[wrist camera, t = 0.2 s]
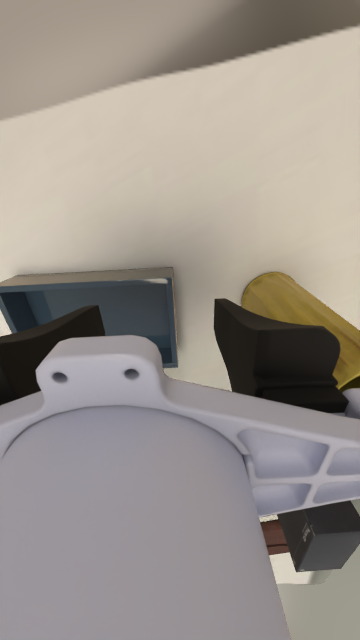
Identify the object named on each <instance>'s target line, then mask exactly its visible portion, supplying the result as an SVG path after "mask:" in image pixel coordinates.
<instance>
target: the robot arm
mask: <svg viewBox="0 0 360 640" xmlns="http://www.w3.org/2000/svg"><path fill="white" fill-rule="evenodd" d="M214 331H215V336H216V341H217V343H218V346H219V349H220V352H221V354H222V357H223V360H224V362H225V365H226V368H227V371H228V375H229V379H230V384H231V388H232V392H230V391H226V390H221V389H217V388H212V387H208V386H203V385H199V384H194V383H190V382H185V381H181V380H176V379H172V378H169V377H168V376H166V375H165V373H164V371H163V367H162V358H161V354H160V352H159V350H158V347H157V345H156V344H154V343H153V342H151V341H150V340H149V339H147V338H146V337H140V336H134V335H121V336H105V329H104V325H103V321H102V317H101V313H100V309H99V305H88V306H85V307H82V308H79V309H77V310H75V311H73V312H71V313H68V314H66V315H64V316H62V317H59V318H57V319H55V320H52V321H50V322H48V323H45V324H43V325H40V326H37V327H34V328H31V329H28V330H24V331H21V332H17V333H13V334H10V335H5V336H1V337H0V640H291V638H290V633H289V630H288V626H287V622H286V618H285V614H284V611H283V607H282V603H281V600H280V596H279V592H278V588H277V584H276V580H275V577H274V573H273V569H272V565H271V562H270V558H269V554H268V550H267V547H266V543H265V539H264V535H263V531H262V528H261V524H260V520H259V518H260V517H265V516H270V515H275V514H280V513H285V512H290V511H296V510H301V509H306V508H311V507H316V506H321V505H326V504H331V503H337V502H343V501H348V500H354V499H360V388H353V389H347V390H345V391H344V392H343V393H341V391H340V390H339V389H338V388H337V387H336V385H338V381H337V379H336V378H335V377H334V376H333V372H334V369H335V367H336V364H337V361H338V359H339V355H340V351H341V347H340V342H339V340H338V339H337V337H336V336H335V335H333V334H332V333H331V332H330V331H329V330H327V329H326V328H325V327H324V326H317V325H302V324H294V323H288V322H282V321H278V320H274V319H270V318H266V317H264V316H261V315H258V314H255V313H253V312H251V311H248V310H246V309H244V308H242V307H240V306H238V305H237V304H235V303H233V302H231V301H229V300H227V299H225V298H223V299H215V306H214Z"/></svg>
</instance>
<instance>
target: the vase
mask: <svg viewBox="0 0 360 640" xmlns="http://www.w3.org/2000/svg"><path fill="white" fill-rule="evenodd" d="M242 308H244V309H246V310H248V311H251V312H253V313H255V314H258V315H261V316H264V317H266V318H270V319H274V320H278V321H282V322H288V323H294V324H302V325H317V326H324V327H325V328H326V329H327V330H329V331H330V332H331V333H332V334H333V335H335V336H336V337H337V339H338V340H339V342H340V347H341V351H340V355H339V359H338V361H337V364H336V367H335V369H334V372H333V376H334V377H335V378H336V379H337V381H338V385H336V387H337V388H338V389H339V390H340V391H341V393H343V392H344V391H345V390H347V389H353V388H360V330H358V329H357V328H356V327H354V326H353V325H352V324H350V323H349V322H348V321H346V320H345V319H343V318H342V317H341V316H339V315H338V314H337V313H335V312H334V311H333V310H331V309H330V308H329V307H328V306H326V305H325V304H324V303H322V302H321V301H319V300H318V299H317V298H316V297H314V296H313V295H312V294H311V293H309V292H308V291H306V290H305V289H304V288H302V287H301V286H300V285H298V284H297V283H296V282H295V281H294V280H293V279H292V278H291V277H290V276H288V275H286V274H283V273H279V272H273V273H267V274H264V275H261V276H259V277H258V278H256V279H255V280H253V281H252V282H251V283H250V284H249V285H248V287H247V288H246V290H245V292H244V294H243V297H242Z"/></svg>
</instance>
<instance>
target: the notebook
mask: <svg viewBox="0 0 360 640" xmlns="http://www.w3.org/2000/svg"><path fill="white" fill-rule="evenodd" d="M260 524H261V528H262V531H263V535H264V539H265V543H266V547H267V550H268V554H269V555H274V554H281V553H287V552H290V551H289V548H288V545H287V542H286V539H285V536H284V533H283V530H282V527H281V525H280V521H279V520H275V521H270V522H264V523H260Z"/></svg>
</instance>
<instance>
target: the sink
mask: <svg viewBox="0 0 360 640" xmlns="http://www.w3.org/2000/svg"><path fill="white" fill-rule="evenodd" d="M88 305H99V309H100V313H101V317H102V321H103V325H104V329H105V336H121V335H134V336H140V337H146V338H147V339H149V340H150V341H151V342H153V343H154V344H156V345H157V347H158V350H159V352H160V354H161V358H162V367H163V368H175V367H178V342H177V327H176V312H175V297H174V282H173V268H172V267H165V268H146V269H128V270H109V271H91V272H72V273H54V274H35V275H17V276H14V277H12V278H9V279H7V280H5V281H3V282H0V310H1V312H2V314H3V316H4V318H5V320H6V322H7V324H8V326H9V328H10V330H11V332H12V334H13V333H17V332H21V331H24V330H28V329H31V328H34V327H37V326H40V325H43V324H45V323H48V322H50V321H52V320H55V319H57V318H59V317H62V316H64V315H66V314H68V313H71V312H73V311H75V310H77V309H79V308H82V307H85V306H88Z"/></svg>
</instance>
